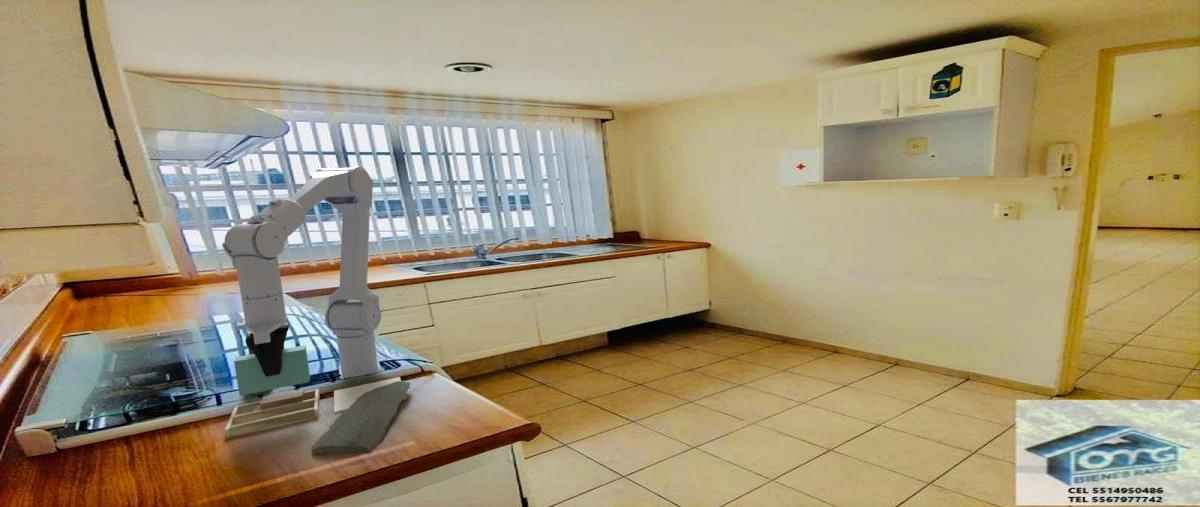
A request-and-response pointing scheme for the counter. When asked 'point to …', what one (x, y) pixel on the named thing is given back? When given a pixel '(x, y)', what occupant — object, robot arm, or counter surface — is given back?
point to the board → (291, 374)
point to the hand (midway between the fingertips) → (274, 371)
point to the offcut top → (282, 399)
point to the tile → (357, 394)
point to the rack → (271, 415)
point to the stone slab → (363, 421)
